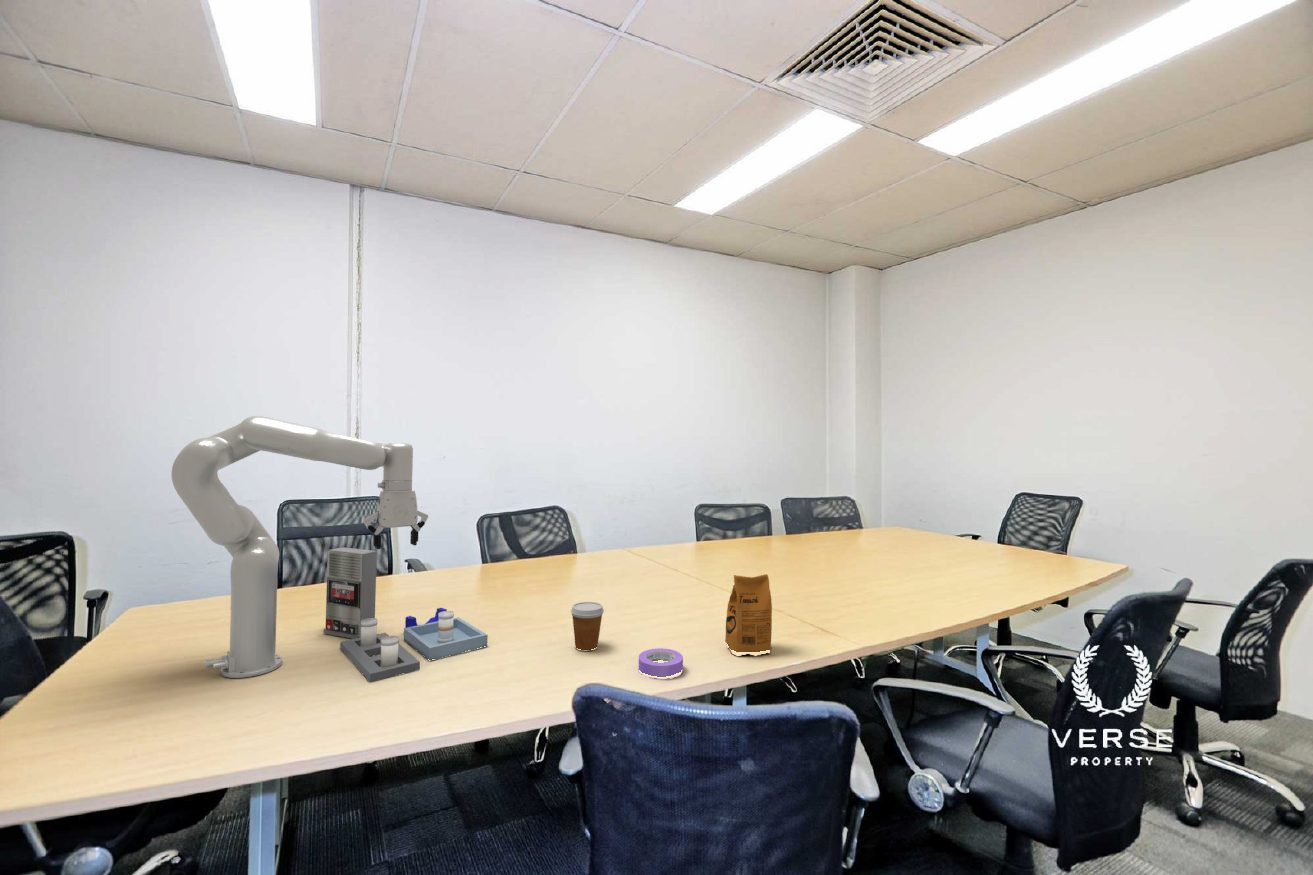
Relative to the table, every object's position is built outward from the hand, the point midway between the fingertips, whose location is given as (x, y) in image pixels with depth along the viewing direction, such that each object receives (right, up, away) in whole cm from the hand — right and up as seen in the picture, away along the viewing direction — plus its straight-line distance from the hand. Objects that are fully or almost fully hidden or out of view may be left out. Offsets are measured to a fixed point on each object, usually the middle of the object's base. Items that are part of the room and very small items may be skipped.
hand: (396, 546), depth 159 cm
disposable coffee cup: (+54, -30, +2) cm, 62 cm away
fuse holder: (0, -28, -9) cm, 30 cm away
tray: (+13, -29, +3) cm, 32 cm away
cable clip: (+3, -29, +12) cm, 32 cm away
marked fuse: (+13, -28, +3) cm, 31 cm away
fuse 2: (+6, -28, -16) cm, 33 cm away
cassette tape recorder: (-18, -28, +8) cm, 35 cm away
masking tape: (+75, -31, -12) cm, 82 cm away
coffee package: (+101, -31, +3) cm, 105 cm away
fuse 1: (-6, -28, -3) cm, 29 cm away
